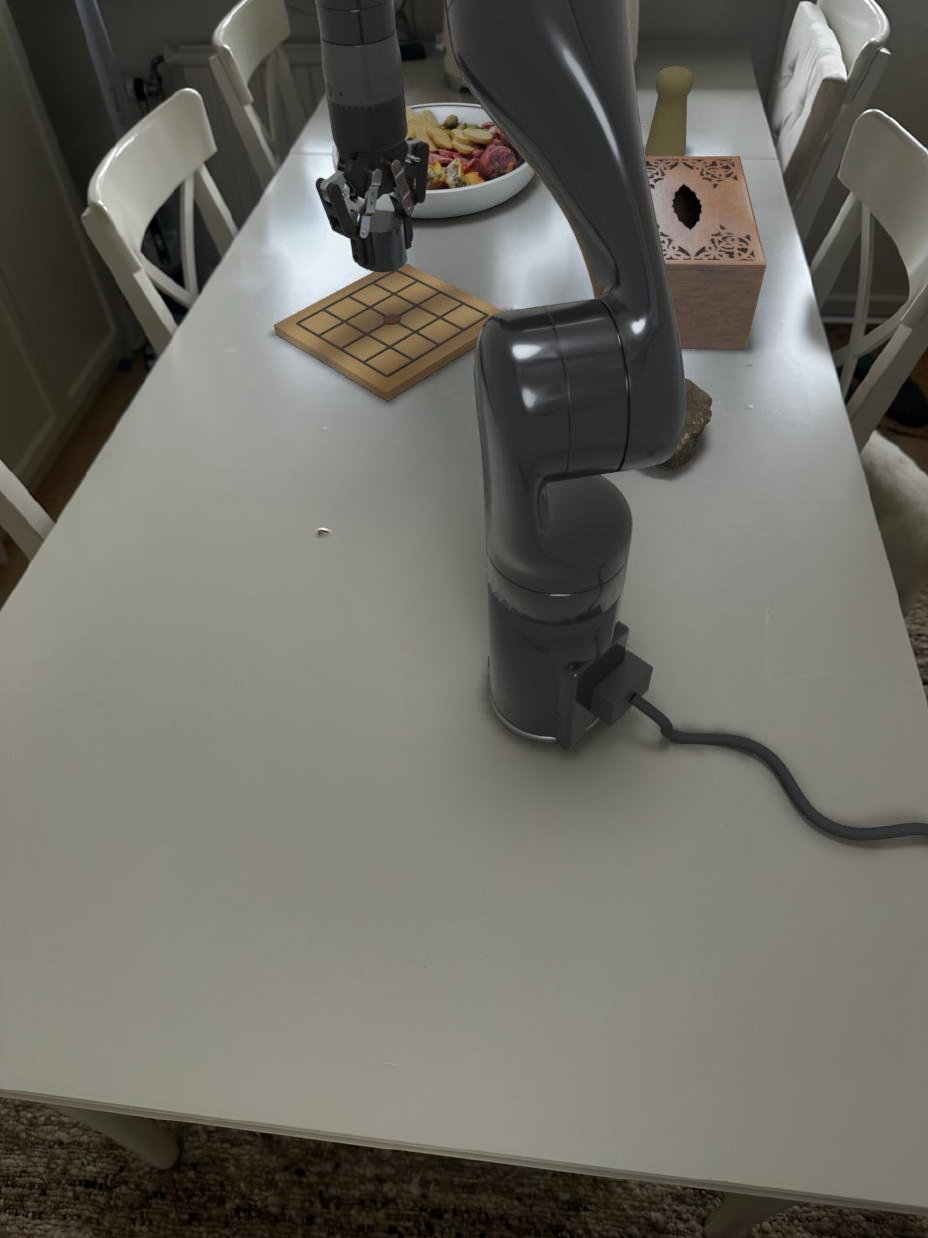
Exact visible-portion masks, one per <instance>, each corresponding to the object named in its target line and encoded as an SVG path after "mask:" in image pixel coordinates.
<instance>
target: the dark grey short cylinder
mask: <svg viewBox="0 0 928 1238" xmlns="http://www.w3.org/2000/svg"><path fill="white" fill-rule="evenodd" d="M357 222H358V223H359V218H358V220H357ZM368 235H370V237H371V245H372V253H373V260H374V267H373V268H371V269H369V270H368V271H371V272H390V271H394V270H397V269H399V268H401V267H403V266H404V265H405V264H407V262H408V254H407V250H406V242H405V232H404V222H403V218H402V216H401V215H400V214H398V213H396V212H393V211H386V210H381V211H378V210H375V213H374V214H373V215H372V216H371V220H370V227H369V234H368Z"/></svg>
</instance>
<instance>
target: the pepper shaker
mask: <svg viewBox="0 0 928 1238" xmlns="http://www.w3.org/2000/svg"><path fill="white" fill-rule="evenodd" d="M693 85H694V76H693V73H692V71H691V70H690V69H689V68H687V67H684V66H681V65H680V66H678V65H674V66H673V65H672V66H667V67H664V68H663V69H661V70H660V71H659V73H658V74H657V77H656V79H655V92H656V94H657V99H656V103H655V107H654V111H653V116H652V120H651V124H650V127H649V132H648V136H647V139H646V140H647V141H646V144H645V148H644V154H645V155H646V156H686V152H687V126H688V125H687V120H688V96H689V95H690V93H691V91H692V89H693Z"/></svg>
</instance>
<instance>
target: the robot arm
mask: <svg viewBox="0 0 928 1238" xmlns="http://www.w3.org/2000/svg"><path fill="white" fill-rule="evenodd" d="M443 1H444V7H445V15H446V22H447V29H448V36H449V42H450V48H451V51H452V55H453V58H454V61H455V64H456V66H457V69H458V71H459V73H460V74H461V75H460V76H461V77H462V79H463V81H464V83H465V84H466V86H467V88H468V90H469V91H470V93H471V94H472V96H473V97H474V99H475V100H476V102H477V104H478V105H480V106H481V107H482V108H483V110H484V111H485V112H486V113H487V115H488V116H489V117H490V119H491V120H492V121H493V123H494V124H495V125H496V126H497V128H498V129H499V130H500V131H501V132H502V134H503V135H504V136H505V137H506V138H507V140H508V141H509V142H510V143H511V144H512V146H513V147H514V148H515V149H516V150H517V152H518V153H519V154H520V155H521V156H522V158H523V159H524V160H525V161H526V162H527V164H528V165H529V166H530V167H531V168H532V170H533V171H534V172H535V173H534V174H536V176H537V177H538V179H539V180H540V181H541V182H542V184H543V185H544V187H546V189H547V191H548V192H549V193H550V194H551V196H552V198H553V199H554V201H555V202H556V204H557V205H558V207H559V209H560V210H561V212H562V214H563V215H564V217H565V219H566V221H567V223H568V225H569V227H570V229H571V231H572V233H573V235H574V238H575V241H576V243H577V245H578V247H579V250H580V252H581V256H582V258H583V261H584V264H585V267H586V271H587V275H588V277H589V280H590V285H591V288H592V293H593V298H590V299H583V300H575V301H574V300H573V301H568V302H561V303H554V304H553V303H552V304H546V305H539V306H531V307H526V308H518V309H512V310H506V311H505V310H504V311H505V312H501V313H497V314H494V315H492V316H491V317H489V318H488V319H487V320H486V321H485V322H484V324H483V326H482V327H481V329H480V332H479V335H478V337H477V341H476V346H475V347H474V354H473V356H474V357H473V382H474V383H473V385H474V397H475V398H474V399H475V408H476V415H477V416H476V417H477V425H478V433H479V434H478V436H479V444H480V452H481V464H482V482H483V483H482V486H483V503H484V520H485V521H484V522H485V523H484V525H485V555H486V556H485V557H486V558H485V559H486V593H487V622H488V623H487V624H488V625H487V626H488V650H489V651H488V652H489V654H488V656H487V667H488V669H489V676H490V678H489V685H488V686H489V688H488V689H489V700H490V701H489V702H490V704H491V707H492V709H493V712H494V714H495V715H496V717H497V718H498V720H499V721H500V722H501V723H502V724H503V726H505V727H506V728H507V729H508V730H510V731H511V732H512V733H514V734H516V735H517V736H519V737H522V738H524V739H526V740H530V741H534V742H537V743H546V744H556V745H558V746H560V747H562V749H564V750H566V751H569V750H571V749H572V748H573V747H574V746H575V745H576V744H577V743H578V742H579V741H580V740H581V739H582V738H583V737H584V736H585V735H586V734H588V732H590V731H591V730H592V729H593V728H595V727H596V726H597V724H598V723H600V721H601V722H603V723H604V724H606V725H607V726H609V727H612V726H614V725H615V724H616V723H617V722H618V721H619V720H620V719H621V718H622V717H623V716H624V715H625V714H626V713H627V712H628V711H629V710H630V709H631V708H632V707H635V709H637V710H638V711H640V712H641V713H642V714H644V715H645V716H646V717H647V718H649V719H650V720H652V721H653V722H654V723H655V724H656V725H657V726H659V727H660V733H661V735H662V737H663V738H664V739H667V740H670V741H672V742H676V743H679V744H684V745H685V744H686V745H709V746H728V747H734V748H739V749H743V750H746V751H748V752H751V753H753V754H755V755H756V756H757V757H759V758H761V759H762V760H763V761H765V763H767V764H768V765H769V766H770V767H771V769H773V772H775V774H776V775H777V776H778V778H779V780H780V781H781V783H782V785H783V786H784V788H785V790H786V791H787V794H788V795H789V796H790V798H791V799H792V801H793V803H794V804H795V806H796V807H797V808H798V810H799V811H800V812H801V813H802V814H803V815H804V817H806V818H807V820H808V821H810V822H811V823H812V824H814V825H815V826H816V827H818V828H819V829H821V830H822V831H824V832H826V833H827V834H831V835H833V836H835V837H837V838H842V839H847V840H850V841H883V840H889V839H897V838H904V837H913V836H923V837H925V836H926V837H928V823H927V822H904V823H897V824H890V825H889V824H888V825H882V826H874V827H873V826H872V827H857V826H848V825H844V824H841V823H838V822H836V821H833V820H832V819H830V818H828V817H827V816H824V815H823V814H822V813H820V811H818V810H817V809H816V808H815V807H814V806H813V805H812V804H811V803H810V801H809V800H808V798H807V797H806V795H805V794H804V793H803V791H802V790H801V788H800V786H799V784H798V783H797V782H796V780H795V778H794V776H793V775H792V773H791V771H790V770H789V768H788V767H787V766H786V765H785V763H784V762H783V761H782V760H781V758H780V757H779V756H778V755H777V754H775V753H774V752H773V751H772V750H771V749H770V748H768V747H766V746H765V745H763V744H761V743H760V742H758V741H756V740H753V739H751V738H748V737H745V736H741V735H736V734H727V733H696V732H695V733H694V732H684V731H679V730H676V729H673V728H674V727H673V723H672V722H671V719H670V718H668V716H666V715H665V714H664V713H663V712H662V711H660V709H658V708H657V707H656V706H654V705H653V704H651V703H650V702H649V701H647V700H646V699H645V698H644V697H643V696H644V695H645V693H647V692H648V691H649V688H650V683H651V680H652V679H651V678H652V674H653V670H654V667H653V666H652V665H651V664H650V663H648V662H647V661H645V660H643V659H642V658H641V657H639V656H638V655H636V654H635V653H633V652H632V651H630V650H627V649H628V641H629V635H630V628H629V626H627V625H626V624H625V623H623V622H621V621H620V614H621V608H622V601H623V595H624V587H625V584H626V583H625V582H626V577H627V576H626V575H627V569H628V562H629V555H630V550H631V544H632V538H633V526H634V524H633V516H632V515H633V514H632V510H631V507H630V505H629V502H628V500H627V499H626V497H625V495H624V494H623V493H622V491H621V490H620V489H619V488H618V487H617V486H616V485H615V484H614V483H612V482H611V481H610V480H609V479H607V477H605V476H602V475H609V474H614V473H620V472H622V473H623V472H629V471H635V470H639V469H646V468H650V467H655V466H654V465H658V464H661V463H663V462H665V461H667V460H668V459H669V458H670V457H671V456H672V455H673V454H674V453H675V451H676V449H677V447H678V445H679V443H680V441H681V437H682V433H683V428H684V422H685V407H686V393H685V378H686V377H685V376H686V375H685V367H684V359H683V352H682V351H683V350H682V348H681V345H680V339H679V333H678V328H677V322H676V317H675V311H674V306H673V300H672V295H671V290H670V285H669V280H668V275H667V270H666V265H665V260H664V255H663V250H662V245H661V240H660V235H659V230H658V225H657V220H656V215H655V210H654V204H653V199H652V194H651V189H650V184H649V178H648V173H647V166H646V160H645V157H646V153H645V147H644V140H643V133H642V132H643V131H642V123H641V118H640V117H641V116H640V109H639V100H638V92H637V91H638V89H637V82H636V72H635V63H634V52H633V43H632V31H631V21H630V9H629V0H443ZM314 5H315V12H316V19H317V24H318V32H319V38H320V55H321V56H320V60H321V70H322V77H323V84H324V89H325V95H326V102H327V110H328V115H329V122H330V123H329V124H330V129H331V135H332V141H333V142H334V144H335V145H336V147H337V150H338V154H339V157H338V163H337V171H336V172H335V171H334V173H333V174H332V175H330V176H329V177H328V178H323V177H318V178H317V179H316V181H315V189H316V191H317V194H318V197H319V199H320V202H321V204H322V207H323V209H324V212H325V215H326V217H327V220H328V223H329V225H330V228H331V231H333V232H335V233H336V234H339V235H341V236H343V237H345V238H346V239H349V241H350V249H351V255H352V259H353V261H354V263H355V264H357V265H358V266H359V267H361V268H363V269H364V270H367V271H370V270H369V269H371V268H373V267H374V260H373V253H372V245H371V237H370V235H368V234H369V227H370V220H371V216H372V215H373V214H374V213H375V211H376V209H375V208H376V201H377V199H379V198H380V197H381V196H382V195H384V194H386V195H387V197H388V200H389V202H390V204H391V206H392V208H394V211H393V212H396V213H398V214H400V215H401V216H402V218H403V222H404V232H405V242H406V251H407V250H409V249H411V248H412V247H413V243H412V242H413V240H414V228H413V218H412V216H411V214H412V213H413V211H414V206H415V205H416V204H417V203H420V204H421V203H423V202H424V200H425V197H426V185H427V173H428V161H429V144H428V143H425V142H423V141H421V140H419V139H416V138H412V137H409V138H408V139H407V140H405V138H406V136H407V133H408V128H407V117H406V106H407V105H406V95H405V84H404V74H403V72H404V71H403V62H402V61H403V60H402V54H401V48H400V45H399V39H398V34H397V33H398V32H397V24H396V14H395V1H394V0H314ZM403 167H404V175H403V172H402V171H403ZM414 178H415V179H416V186H415V188H414ZM344 184H346V185H347V189H345V188H344ZM358 197H360V198H363V199H365V200H364V203H363V202H361V201H359V199H358ZM358 219H359V223H358V222H357V221H358Z"/></svg>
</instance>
